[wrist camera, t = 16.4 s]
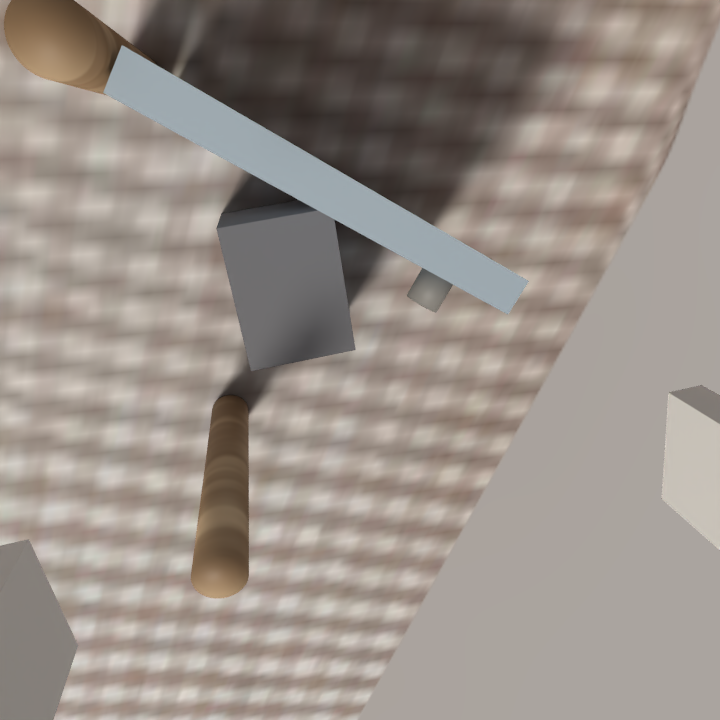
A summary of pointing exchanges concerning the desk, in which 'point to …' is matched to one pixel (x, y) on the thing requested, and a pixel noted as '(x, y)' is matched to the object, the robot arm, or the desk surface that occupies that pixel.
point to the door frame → (230, 413)
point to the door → (313, 184)
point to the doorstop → (286, 283)
